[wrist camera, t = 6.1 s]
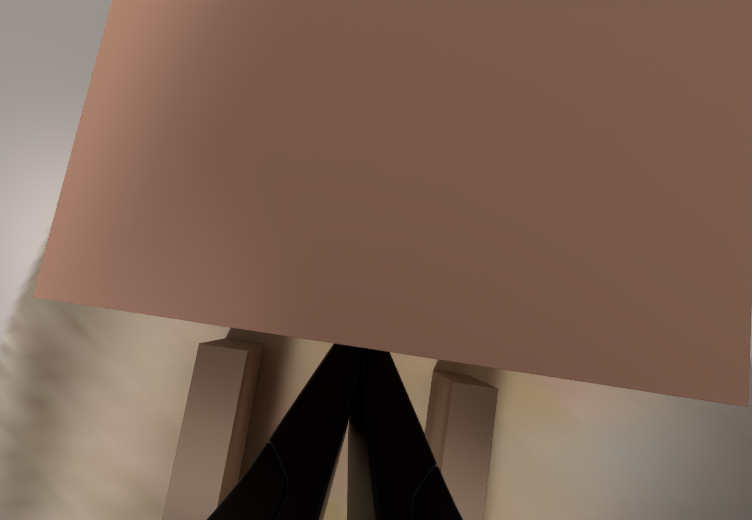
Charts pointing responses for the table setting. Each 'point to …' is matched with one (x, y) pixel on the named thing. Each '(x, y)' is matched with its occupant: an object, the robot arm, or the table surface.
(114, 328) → the table surface
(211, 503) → the chute
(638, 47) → the block
